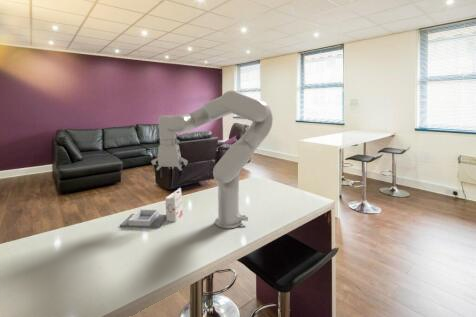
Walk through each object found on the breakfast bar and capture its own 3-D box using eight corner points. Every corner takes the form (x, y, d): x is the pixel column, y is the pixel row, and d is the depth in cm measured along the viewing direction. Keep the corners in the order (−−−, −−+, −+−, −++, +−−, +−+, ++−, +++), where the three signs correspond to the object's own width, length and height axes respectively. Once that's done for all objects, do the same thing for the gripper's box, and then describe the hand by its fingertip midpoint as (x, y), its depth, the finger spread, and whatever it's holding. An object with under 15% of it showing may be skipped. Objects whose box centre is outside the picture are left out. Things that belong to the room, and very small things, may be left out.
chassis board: (167, 216, 136) (167, 209, 136) (158, 228, 124) (158, 220, 123) (132, 215, 137) (131, 209, 136) (119, 227, 124) (119, 219, 124)
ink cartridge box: (173, 214, 139) (172, 186, 136) (182, 215, 138) (181, 187, 135) (166, 221, 131) (164, 191, 128) (175, 222, 130) (174, 192, 127)
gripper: (188, 141, 130) (190, 176, 133) (153, 141, 131) (155, 175, 135) (184, 143, 123) (186, 180, 126) (147, 143, 124) (149, 179, 127)
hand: (170, 177), depth 130 cm, fingers open, 9 cm apart
